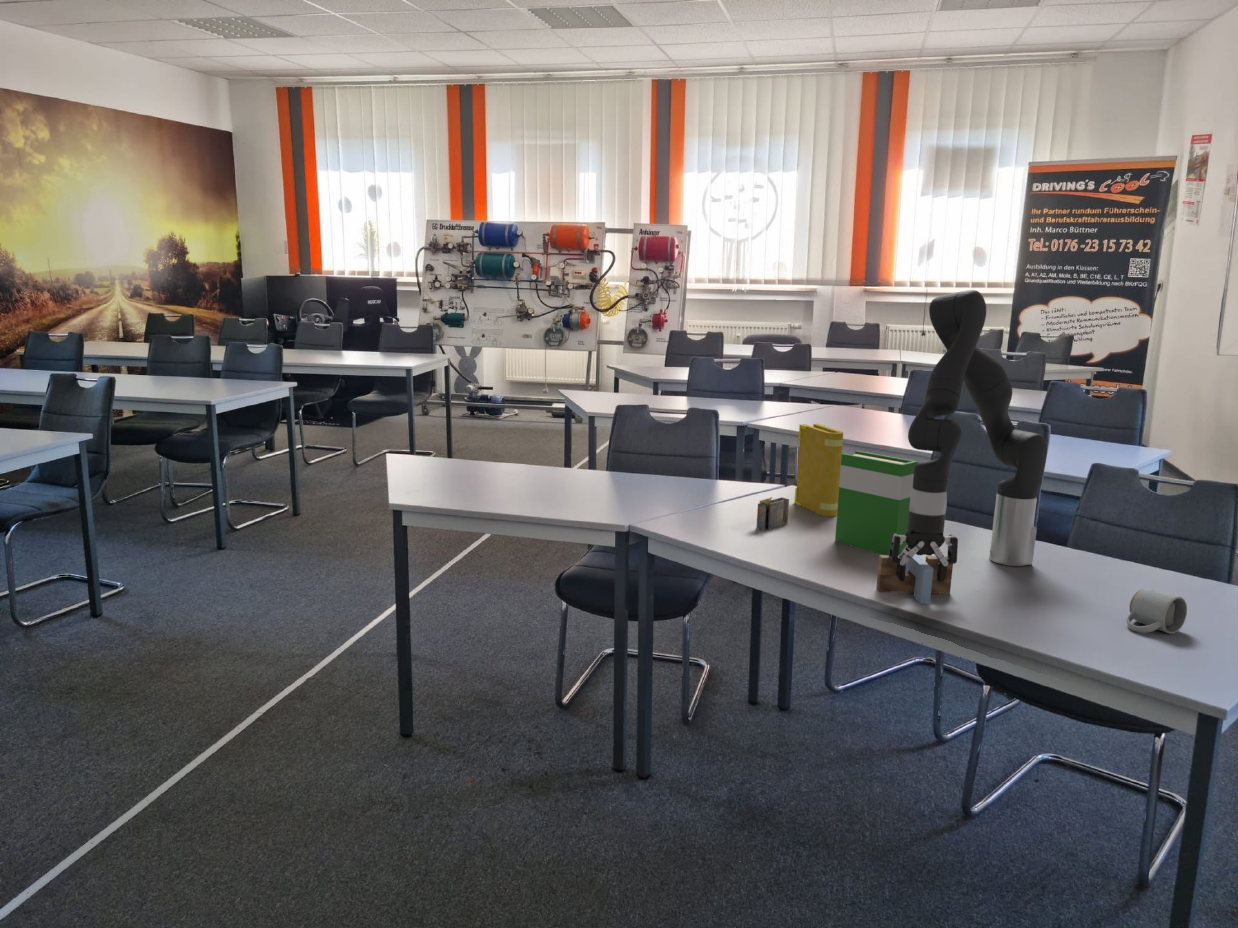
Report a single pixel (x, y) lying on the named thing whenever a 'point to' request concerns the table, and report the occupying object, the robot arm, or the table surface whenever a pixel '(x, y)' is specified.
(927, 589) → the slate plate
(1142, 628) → the ceramic mug
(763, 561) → the table surface
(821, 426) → the book
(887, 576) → the walnut plate
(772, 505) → the weathered grey slotted block
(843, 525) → the hardback book
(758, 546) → the table surface
